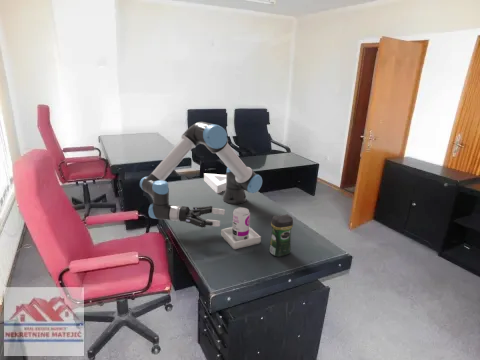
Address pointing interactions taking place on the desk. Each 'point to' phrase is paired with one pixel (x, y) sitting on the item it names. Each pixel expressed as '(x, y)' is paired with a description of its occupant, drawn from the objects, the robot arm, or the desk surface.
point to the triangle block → (216, 182)
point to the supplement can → (241, 224)
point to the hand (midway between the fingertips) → (222, 217)
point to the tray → (252, 240)
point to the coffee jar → (281, 235)
